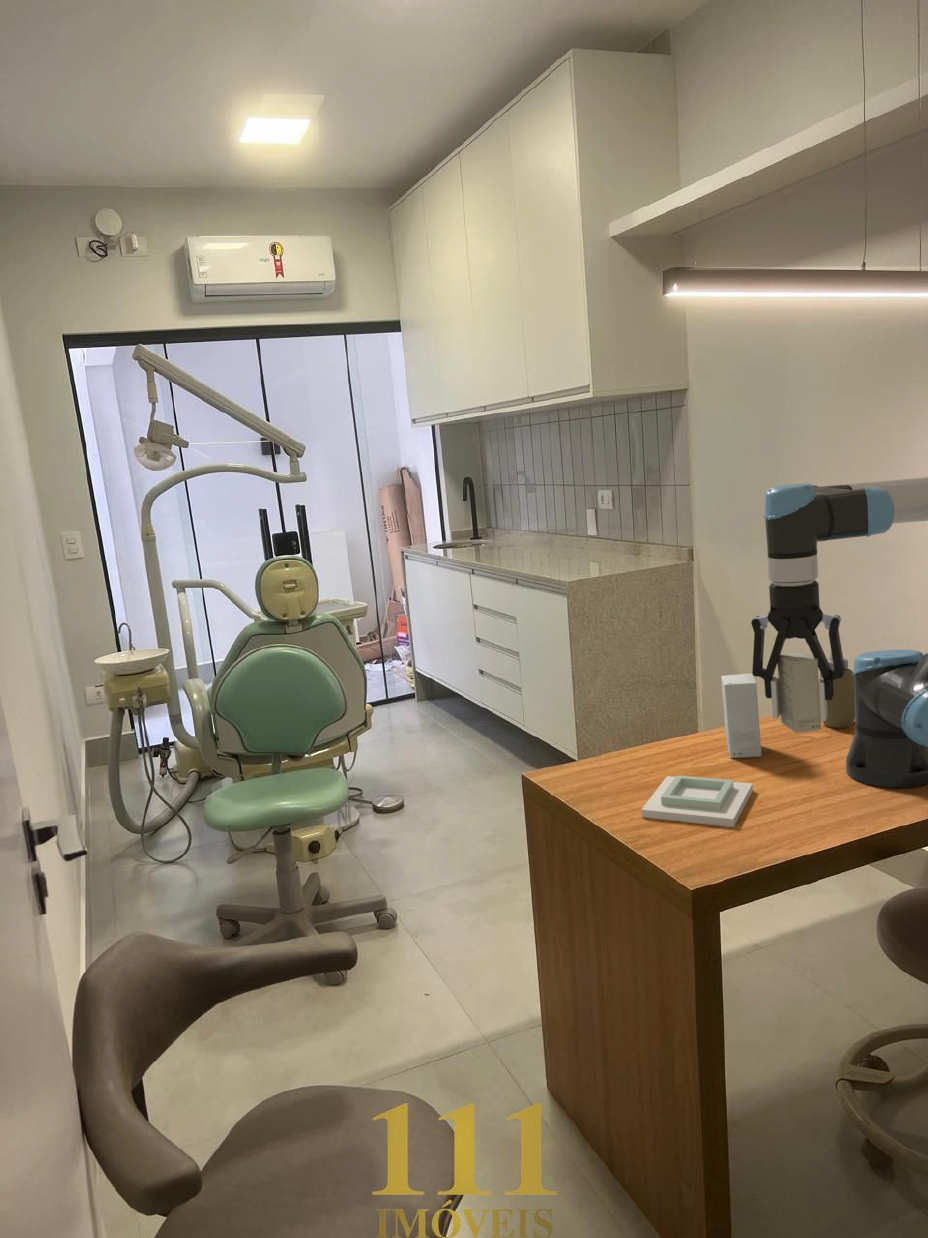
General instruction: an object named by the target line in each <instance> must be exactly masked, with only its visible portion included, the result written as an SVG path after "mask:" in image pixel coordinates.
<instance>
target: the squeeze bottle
mask: <svg viewBox="0 0 928 1238" xmlns="http://www.w3.org/2000/svg"><path fill="white" fill-rule="evenodd" d="M826 659H827V661H828V663H829V665H830V668H831V670H834V665H833V658H832V652H831V651H830V655H829V658H826ZM843 661H844V668H845V673H844V675H843V677H842V678H837V679H834V680H833V690H834V695H833V698H832V700H827V714H828V716H827V718H826V721H822V723H823V725H824V726H826V727H828V728H834V729H835V728H836V729H839V728H840V729H841V728H843V729H845V728H848V727H851V726H853V725H854V723H855V706H854V679H853V670H852V669H851V668H849V660H848V659H847V658H845V657H843ZM821 678H823V677H822V675H821V672H820V671H819V680H820V679H821Z"/></svg>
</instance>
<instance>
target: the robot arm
mask: <svg viewBox="0 0 928 1238" xmlns="http://www.w3.org/2000/svg"><path fill="white" fill-rule="evenodd" d="M764 519H765V532H766V534H765V535H766V536H765V537H766V545H767V546H766V547H767V572H768V580H769V581H770V582H771V583H770V585H768V589H769V607H770V608H769V612H768V614H766V615H763V616H760V615H757V616H754V618H752V620H751V622H750V623H751V627H752V630H753V633H754V637H753V639H754V640H753V654H752V655H753V656H752V670H751V671H752V672H751V674H752V675H753V677H754V678H755V677H759V678H761V679H763V681H764V695H765V698H766V699H771V709H772V719H774V720H777V719H778V720H779V717H781V716H780V698H779V681H778V676H774V675H775V671H776V670H777V667H778V664H777V663H778V659H779V656H780V654H782V651H783V647H784V645H785V641H786V640H790V639H795V638H797V639H802V640H804V639H805V643H806V644H807V645H808V647H809V649H810V652H811V655H812V656H813V657H814V659H818V671H819V673H820V672H821V675H822V677H823V678H821V679H820V678H819V699H820V721H821V722H823V721H826V718H827V716H828V714H827V700H832V698H833V695H834V690H833V680H834V679H837V678H842V677H843V675H844V673H845V668H844V661H843V658H844V656H843V655H844V654H843V650H842V643H841V636H840V630H839V629H840V626H841V625H840V624H841V621H842V618H841V616H840V615H837V614H836V615H828V614H824V613H823V610H822V609H821V606H820V587H819V582H818V581H817V579H818V577H819V568H818V567H819V565H818V564H819V563H818V542H827V541H832V540H833V541H834V540H842V539H850V538H851V539H852V538H859V537H860V538H861V537H866V538H868V537H870V536H874V535H879V534H884V533H886V532H888V531H889V530H890V529H891V527H892V526H893V524H902V523H913V522H915V523H916V522H925V521H928V476H926V477H913V478H905V479H904V478H903V479H891V480H883V481H882V480H881V481H880V480H879V481H870V482H857V483H846V484H836V485H824V486H818V485H815V484H814V485H813V484H811V483H794V484H782V485H776V486H772V487H770V488H768V489H767V491H766V492H765V495H764ZM821 622H822V623H823V624H824V627H825V629H826V630H828V638H829V645H830V653H831V652H832V658H833V665H834V670H831V668H830V665H829V663H828V661H827V659H828V658H827V656H826V654H825V652H824V650H823V648H822V645H821V643H820V641H819V639H818V638H819V637H818V634H817V631H816V629H817V628H818V627H819V625H820V624H821ZM768 623H770V624H771V626H772V627H773V628H774V630H775V631H776V632H777V634H776V637H775V640H774V645H773V647H772V651H771V652H770V653H771V654H770V656H769V659H768V663H767V664H766V668H764V667H763V666H764V649H765V636H766V635H765V634H766V633H765V630H766V628H767V627H768ZM852 672H853V679H854V706H855V719H854V723H855V724H854V725H855V727H854V728H855V729H854V735H853V738H852V741H851V743H850V747H849V750H848V753H847V756H846V760H845V770H846V773H847V775H848V776H849V777H850V778H851V779H853V780H855V781H858V782H860V783H863V784H866V785H869V786H875V787H881V788H892V789H898V788H899V789H900V788H901V789H902V788H903V789H905V788H915V787H919V786H921V787H922V786H924V785H927V784H928V651H926V652H925V653H923V652H922V651H919V650H914V649H885V650H884V649H883V650H874V651H868V652H864V653H860V654H858V655H857V656H855V659H853V669H852Z"/></svg>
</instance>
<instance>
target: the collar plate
mask: <svg viewBox="0 0 928 1238" xmlns="http://www.w3.org/2000/svg"><path fill="white" fill-rule="evenodd" d="M753 791H754V783H751V782H743V781H742V782H739V781H734V780H733V779H723V778H715V777H713V778H712V777H703V776H702V777H701V776H690V775H676V776H669V775H668V776H667V775H666V777H665V778H664V780H662V782H661V783H660V785H659V786H658V787H657V788H656V790H655V791H654V793H653V794H652V795H651V796H650V798H649V799H648V800H647V801H646V803H644V806H642V808H641V818H644V819H653V820H662V821H663V820H664V821H670V822H672V821H673V822H681V823H688V824H689V823H691V824H697V825H698V824H699V825H708V826H716V827H717V826H718V827H725V828H726V827H728V828H735V825H736V824H737V822H738V821H739V818H740V816H742V815H741V814H743V811H744V809H745V807H746V805H747V803H748V801H749V800H750V798H751V796H752V794H753Z"/></svg>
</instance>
